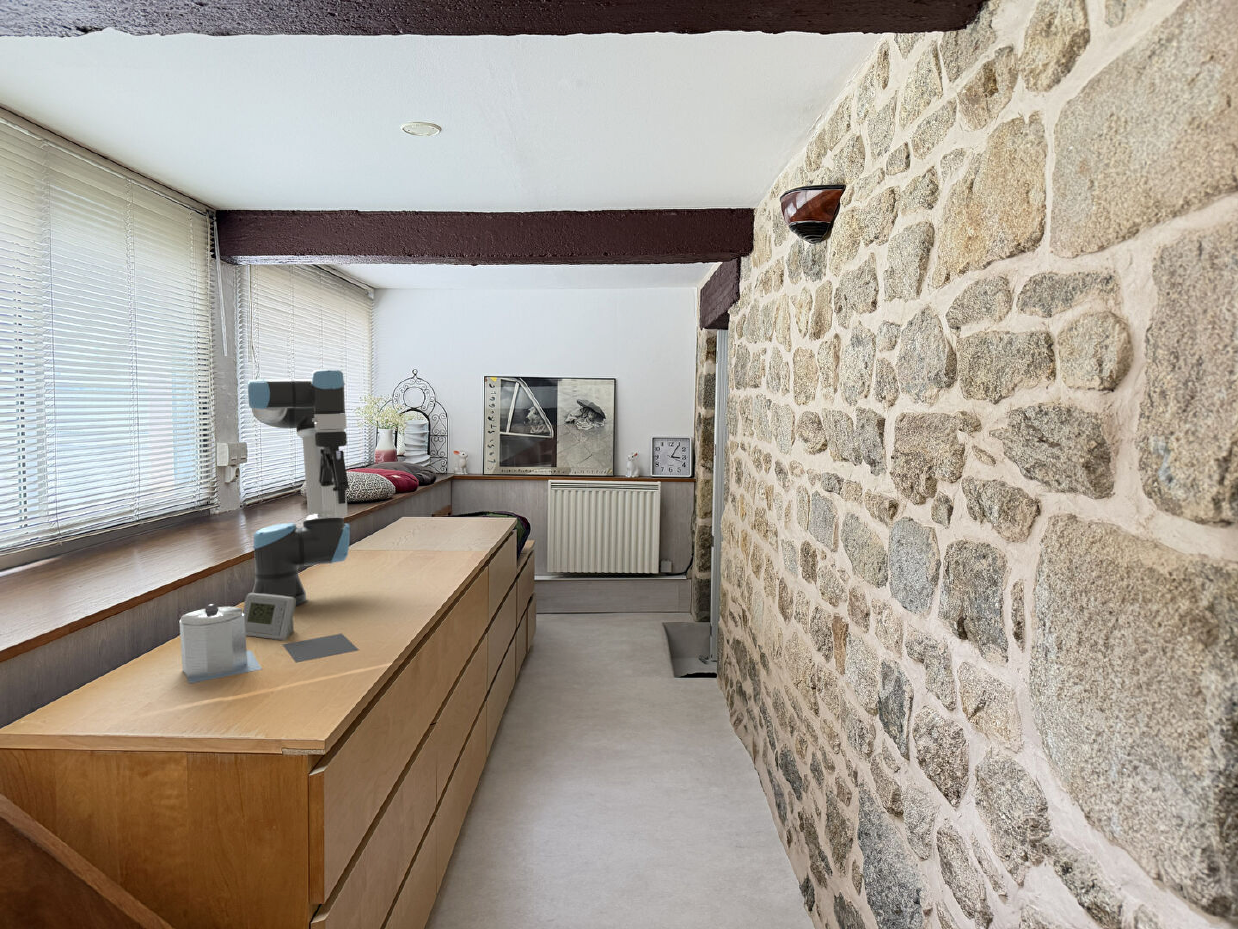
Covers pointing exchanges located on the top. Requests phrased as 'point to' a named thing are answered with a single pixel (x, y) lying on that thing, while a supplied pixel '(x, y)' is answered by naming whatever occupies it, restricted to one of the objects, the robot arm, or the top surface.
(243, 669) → the blue board
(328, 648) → the black mat
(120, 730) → the top surface
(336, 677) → the top surface
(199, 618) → the steel canister
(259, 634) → the digital clock
